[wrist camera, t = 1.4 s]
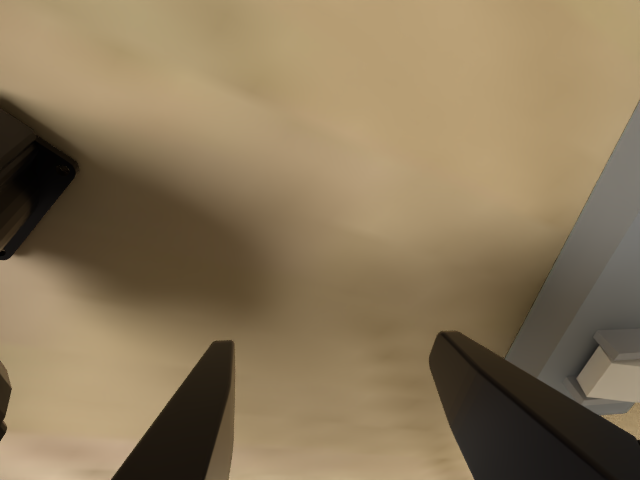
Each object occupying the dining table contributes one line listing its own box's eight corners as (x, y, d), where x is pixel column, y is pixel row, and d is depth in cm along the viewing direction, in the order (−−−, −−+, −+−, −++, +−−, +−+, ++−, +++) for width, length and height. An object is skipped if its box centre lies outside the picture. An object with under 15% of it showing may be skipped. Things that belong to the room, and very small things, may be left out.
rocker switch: (576, 378, 27) (586, 396, 26) (599, 345, 25) (611, 363, 24) (651, 387, 27) (665, 405, 26) (679, 354, 25) (695, 373, 24)
